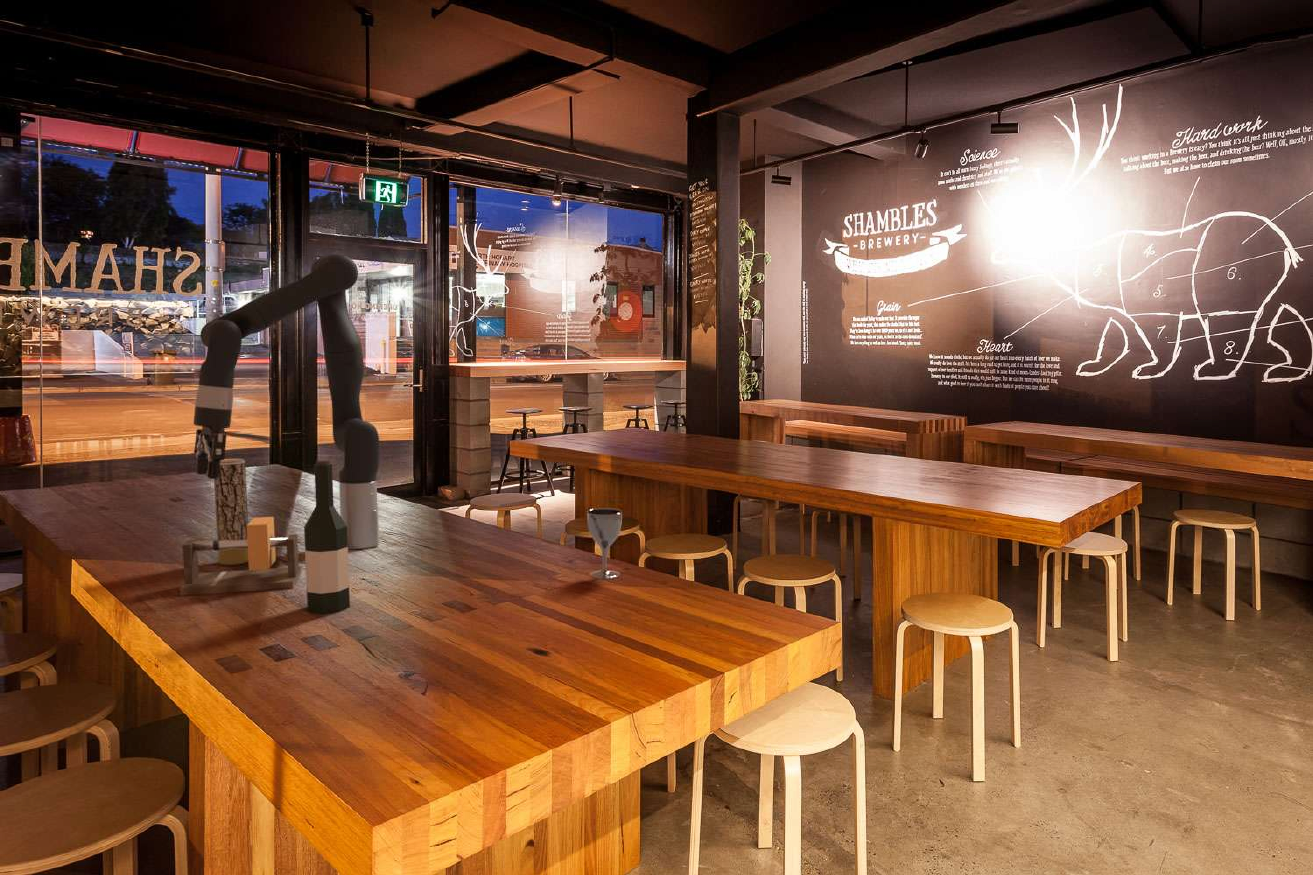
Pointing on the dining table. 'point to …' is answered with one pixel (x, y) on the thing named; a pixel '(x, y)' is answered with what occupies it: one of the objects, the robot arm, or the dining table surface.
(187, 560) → the pipe stand
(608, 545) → the wine glass
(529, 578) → the dining table surface
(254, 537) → the collar
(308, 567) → the wine bottle
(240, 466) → the bark log section
